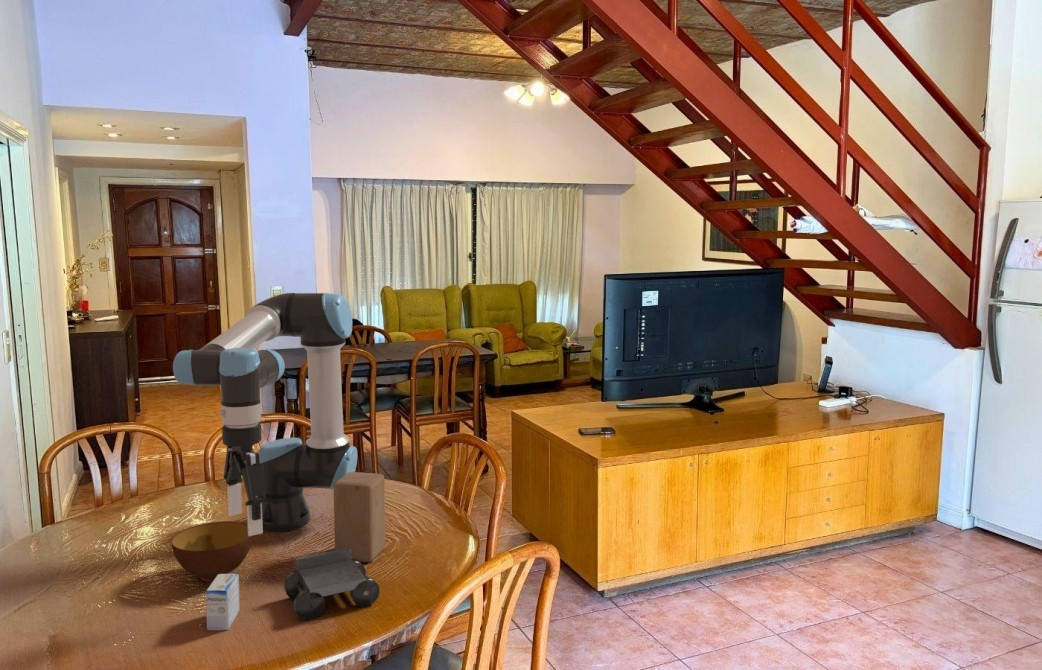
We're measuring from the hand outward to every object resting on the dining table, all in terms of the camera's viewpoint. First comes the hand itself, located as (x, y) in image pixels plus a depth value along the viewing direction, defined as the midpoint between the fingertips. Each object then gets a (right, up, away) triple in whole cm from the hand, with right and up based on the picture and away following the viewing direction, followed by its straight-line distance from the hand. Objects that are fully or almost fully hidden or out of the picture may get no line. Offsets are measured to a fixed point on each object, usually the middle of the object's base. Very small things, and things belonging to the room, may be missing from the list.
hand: (245, 524), depth 155 cm
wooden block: (+17, -16, +34) cm, 41 cm away
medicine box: (-5, -21, +1) cm, 21 cm away
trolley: (+16, -19, +9) cm, 27 cm away
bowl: (-15, -18, +21) cm, 31 cm away
